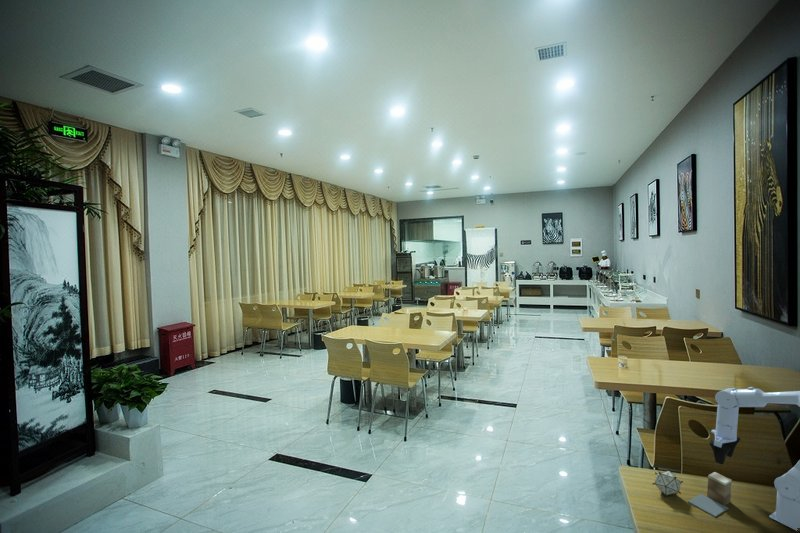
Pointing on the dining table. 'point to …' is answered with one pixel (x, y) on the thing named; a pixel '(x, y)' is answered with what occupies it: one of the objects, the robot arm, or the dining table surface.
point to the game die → (667, 483)
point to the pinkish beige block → (719, 488)
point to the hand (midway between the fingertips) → (723, 459)
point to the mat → (708, 505)
